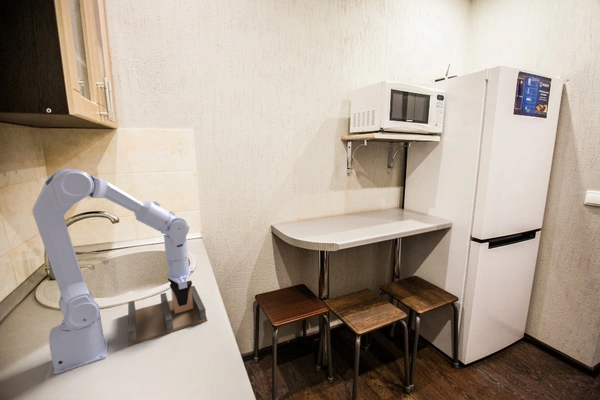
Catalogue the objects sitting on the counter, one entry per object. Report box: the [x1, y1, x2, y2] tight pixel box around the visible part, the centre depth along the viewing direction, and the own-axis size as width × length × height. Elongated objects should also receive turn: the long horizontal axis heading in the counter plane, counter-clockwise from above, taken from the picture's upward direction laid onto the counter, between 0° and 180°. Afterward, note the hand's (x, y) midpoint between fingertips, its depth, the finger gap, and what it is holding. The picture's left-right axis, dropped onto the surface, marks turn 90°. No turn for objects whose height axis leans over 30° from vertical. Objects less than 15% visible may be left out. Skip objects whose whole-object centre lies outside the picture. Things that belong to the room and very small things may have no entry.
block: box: [170, 287, 193, 314], centre depth 82 cm, size 5×4×7 cm
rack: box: [127, 285, 208, 346], centre depth 80 cm, size 19×16×4 cm
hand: (181, 301), depth 82 cm, fingers closed on block, 4 cm apart
